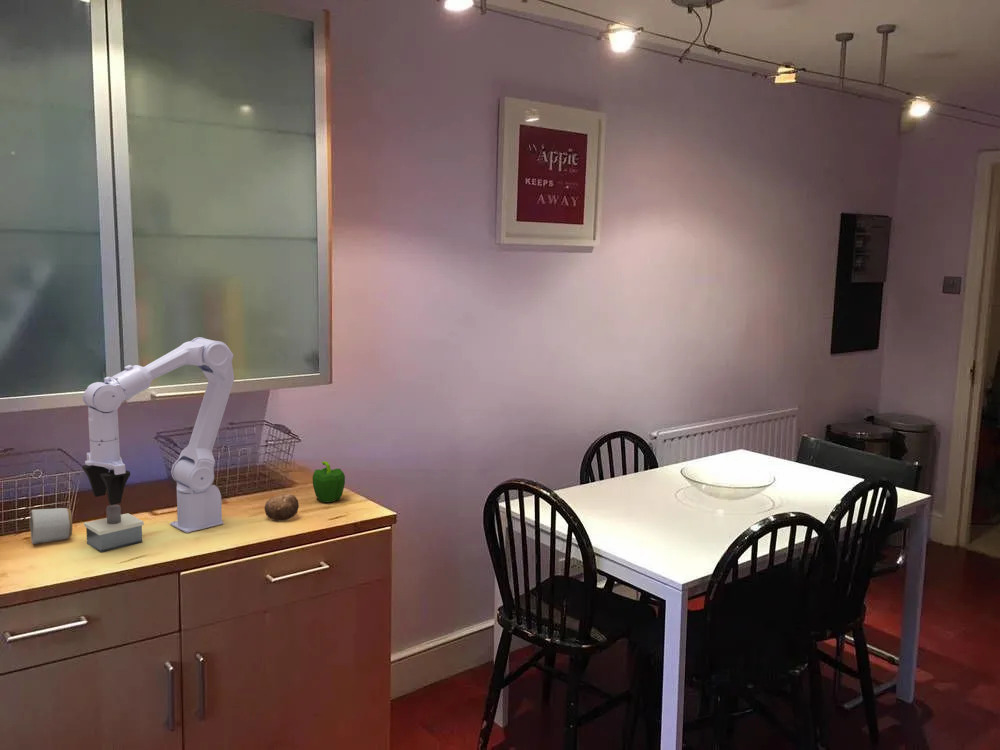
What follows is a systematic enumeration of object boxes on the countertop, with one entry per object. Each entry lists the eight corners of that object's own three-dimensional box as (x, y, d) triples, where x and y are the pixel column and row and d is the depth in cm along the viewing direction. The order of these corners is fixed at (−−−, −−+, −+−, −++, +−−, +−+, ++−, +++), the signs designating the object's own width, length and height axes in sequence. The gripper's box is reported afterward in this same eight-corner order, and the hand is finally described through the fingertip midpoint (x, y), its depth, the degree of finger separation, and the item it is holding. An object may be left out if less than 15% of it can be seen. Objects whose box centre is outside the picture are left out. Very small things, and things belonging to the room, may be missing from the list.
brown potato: (285, 496, 209) (282, 481, 205) (307, 514, 206) (304, 499, 201) (260, 517, 205) (256, 502, 200) (282, 535, 201) (278, 520, 197)
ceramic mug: (74, 542, 183) (72, 509, 182) (33, 548, 178) (31, 515, 177) (67, 529, 191) (66, 497, 190) (28, 534, 187) (26, 502, 186)
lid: (128, 516, 188) (127, 498, 188) (143, 524, 183) (143, 506, 183) (84, 526, 181) (83, 507, 181) (99, 535, 176) (98, 515, 176)
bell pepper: (347, 503, 216) (348, 466, 214) (315, 506, 213) (315, 468, 211) (341, 494, 224) (341, 457, 222) (310, 496, 220) (310, 459, 219)
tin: (128, 534, 189) (127, 517, 188) (142, 542, 184) (141, 524, 183) (87, 543, 182) (86, 526, 181) (100, 552, 177) (100, 534, 177)
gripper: (70, 435, 180) (74, 496, 182) (99, 448, 170) (103, 511, 173) (104, 430, 185) (107, 489, 187) (134, 442, 176) (136, 504, 178)
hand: (107, 499), depth 180 cm, fingers open, 7 cm apart
